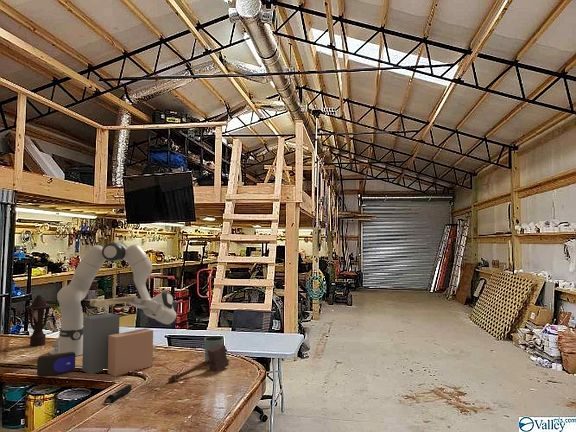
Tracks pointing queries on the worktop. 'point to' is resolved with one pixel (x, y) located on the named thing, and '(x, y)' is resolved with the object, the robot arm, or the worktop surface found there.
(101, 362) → the grey upright block
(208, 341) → the grey green cup
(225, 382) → the worktop surface
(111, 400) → the electric trimmer
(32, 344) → the lantern
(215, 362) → the hammer
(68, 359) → the leaning round-cornered charcoal block
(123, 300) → the T-bar
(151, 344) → the tan upright block
